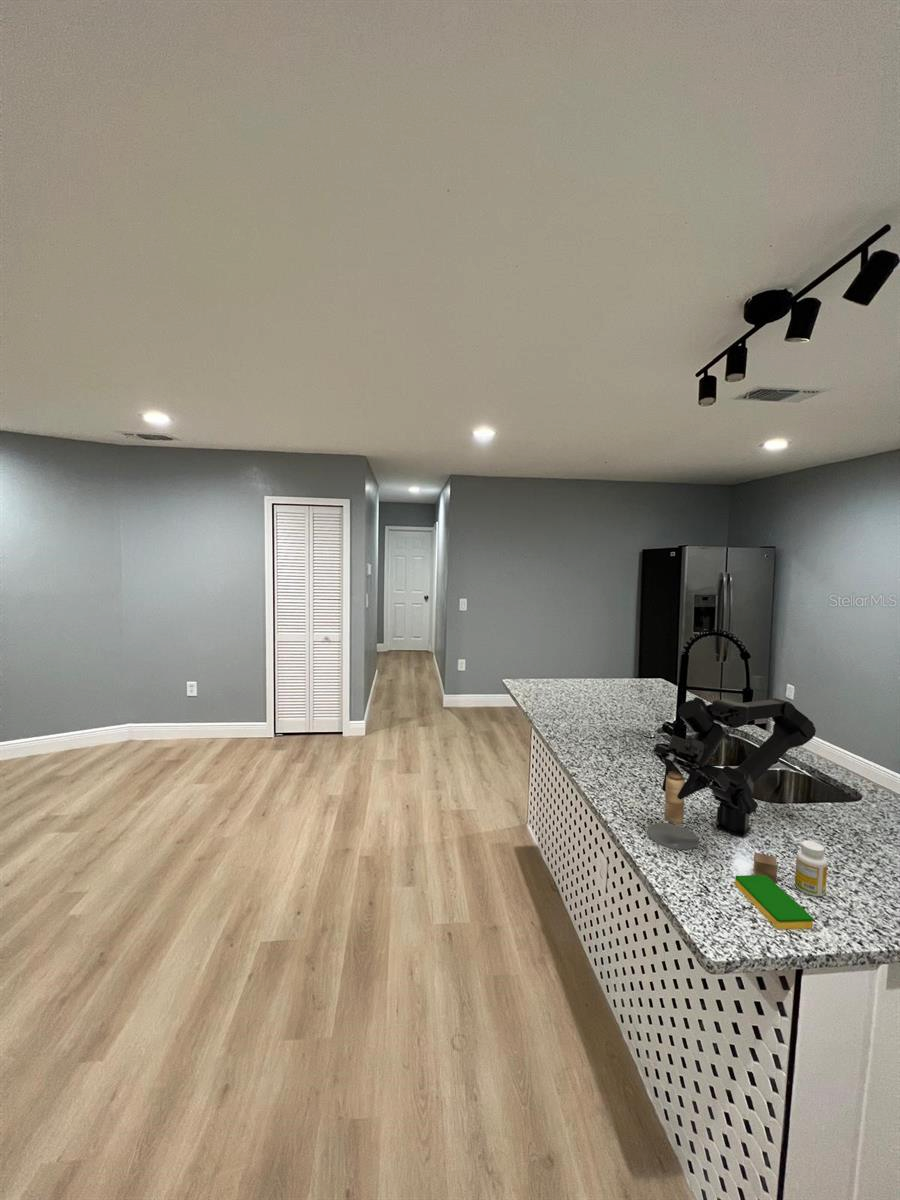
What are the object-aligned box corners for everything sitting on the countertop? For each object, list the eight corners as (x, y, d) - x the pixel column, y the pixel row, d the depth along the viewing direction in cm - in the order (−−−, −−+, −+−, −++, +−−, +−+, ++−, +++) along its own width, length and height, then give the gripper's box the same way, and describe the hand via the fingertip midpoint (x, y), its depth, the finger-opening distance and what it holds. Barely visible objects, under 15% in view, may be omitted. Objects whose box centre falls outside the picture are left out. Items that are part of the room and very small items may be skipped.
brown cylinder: (687, 822, 126) (689, 775, 125) (673, 825, 124) (675, 778, 123) (674, 813, 130) (675, 769, 129) (660, 816, 128) (662, 771, 127)
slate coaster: (706, 837, 131) (706, 836, 131) (686, 855, 123) (686, 854, 123) (659, 819, 140) (659, 818, 140) (638, 835, 131) (638, 834, 131)
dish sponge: (765, 885, 113) (766, 874, 112) (813, 930, 99) (814, 918, 99) (733, 885, 112) (734, 875, 112) (777, 931, 98) (778, 919, 98)
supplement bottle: (812, 881, 114) (816, 838, 113) (831, 897, 108) (835, 852, 107) (788, 881, 113) (791, 838, 113) (806, 897, 108) (809, 852, 107)
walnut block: (774, 874, 116) (775, 856, 116) (776, 883, 113) (777, 866, 112) (753, 869, 118) (754, 852, 118) (754, 878, 114) (756, 861, 114)
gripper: (659, 713, 135) (625, 761, 131) (724, 735, 119) (687, 791, 115) (679, 738, 139) (647, 786, 135) (745, 763, 123) (710, 818, 119)
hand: (670, 794), depth 126 cm, fingers closed on brown cylinder, 4 cm apart
